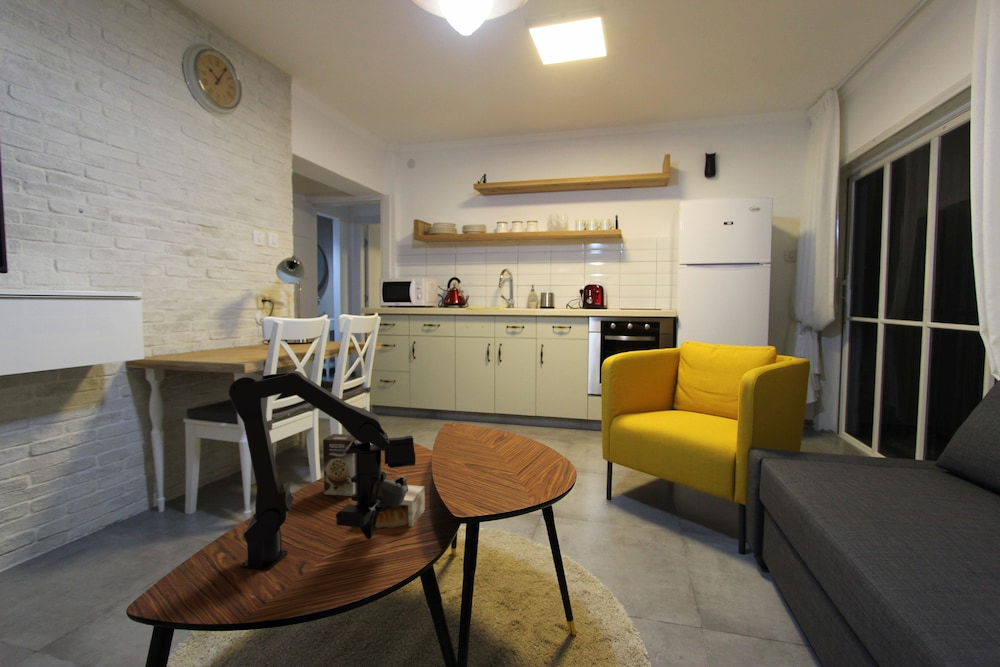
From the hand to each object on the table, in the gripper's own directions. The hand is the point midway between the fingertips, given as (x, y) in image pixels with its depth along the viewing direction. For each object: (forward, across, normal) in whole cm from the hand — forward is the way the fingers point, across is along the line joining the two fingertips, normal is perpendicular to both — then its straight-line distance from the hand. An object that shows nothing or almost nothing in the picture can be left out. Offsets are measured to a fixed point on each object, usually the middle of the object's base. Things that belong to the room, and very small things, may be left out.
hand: (369, 538), depth 101 cm
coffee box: (+2, +27, +20) cm, 34 cm away
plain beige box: (+1, +14, 0) cm, 14 cm away
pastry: (+2, +11, -1) cm, 11 cm away
